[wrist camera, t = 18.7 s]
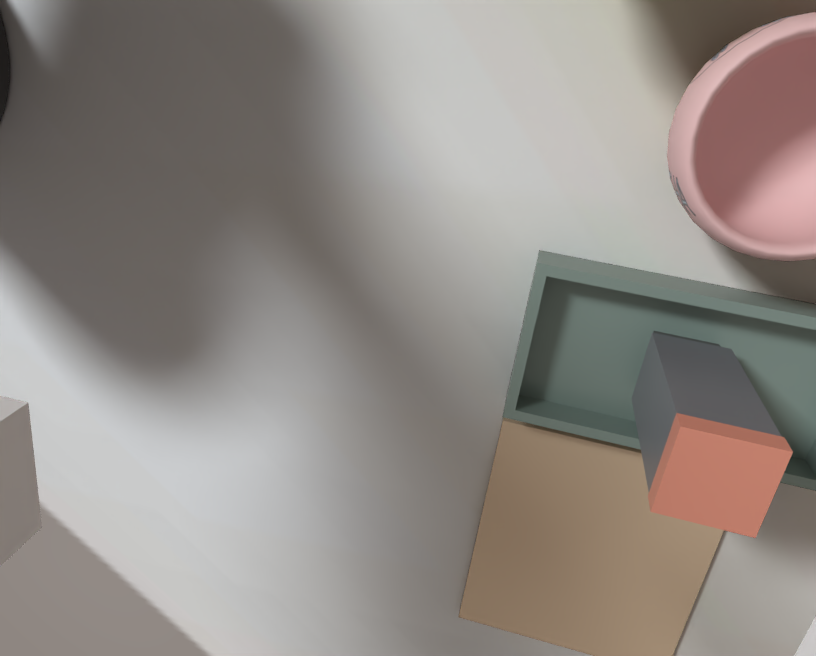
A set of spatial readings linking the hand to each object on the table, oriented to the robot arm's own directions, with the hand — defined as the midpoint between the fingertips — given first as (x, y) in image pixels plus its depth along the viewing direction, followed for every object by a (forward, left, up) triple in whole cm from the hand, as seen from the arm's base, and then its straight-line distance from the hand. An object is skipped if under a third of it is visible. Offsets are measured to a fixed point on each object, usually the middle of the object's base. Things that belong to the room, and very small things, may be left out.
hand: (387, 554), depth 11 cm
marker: (+10, -6, -27) cm, 29 cm away
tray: (+10, -6, -27) cm, 30 cm away
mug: (+12, +7, -28) cm, 31 cm away
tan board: (+9, -20, -27) cm, 35 cm away
